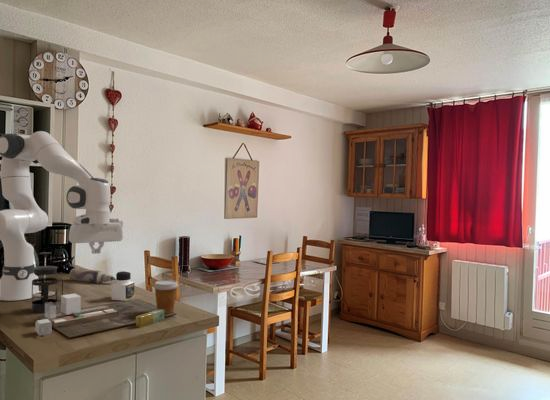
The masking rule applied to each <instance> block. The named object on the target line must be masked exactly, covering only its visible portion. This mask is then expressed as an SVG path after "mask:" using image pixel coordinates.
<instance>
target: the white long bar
mask: <svg viewBox="0 0 550 400" xmlns="http://www.w3.org/2000/svg"><path fill="white" fill-rule="evenodd" d="M99 306H100V305H99ZM93 307H94V306H93ZM87 308H88V307H87ZM81 309H82V308H81ZM104 309H107V307H105V306H100V307H94V308H88V309H82V310H81V311H80V313H76V314H81V313H87V312H92V311H98V310H104ZM56 313H57V310H56V305H55V304H53V303H52V302H47V303H45V313H44V315H45V317H46V318H48V319H49V320H53V319H56V318H58V317H64V316H70V315H72V314H68V315H66V314H64V313H59V312H58V313H59V314H56Z"/></svg>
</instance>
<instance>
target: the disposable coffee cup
mask: <svg viewBox="0 0 550 400" xmlns="http://www.w3.org/2000/svg"><path fill="white" fill-rule="evenodd" d="M153 287H154V291H155V292H154V293H155V302H156V310H158V309H164V310H165V315H166V314H167V313H168V314H172V313H173V312H174V309H175V303H176V296H177V291H178V290H177V288H178V287H179V284H178V281H177V280H173V279H162V280H157V281H155V282H154V284H153ZM168 314H167V315H168Z"/></svg>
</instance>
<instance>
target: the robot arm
mask: <svg viewBox="0 0 550 400" xmlns="http://www.w3.org/2000/svg"><path fill="white" fill-rule="evenodd" d="M0 156H1V157H2V158H1V162H0V182H1V192H2V193H1V194H2V197H3V198H4V199H5V200H7V201H8V202H10V203H11V205H12V206H13V208H12V209H11V208H10V209H9V208H8V209H7V208H6V209H2V210H1V209H0V242H1V244H2V246H3V251H4V252H3V255H4V261H3V263H4V265H3V266H2V276H1V277H0V301H5V302H6V301H7V302H10V301H23V300H28V299H29V300H30V299H32V280H34V279H39V275H37V274H36V273H35V271H34V270H32V268H34V267H35V265H36V264H35V263H34V261H35V257H34V256H35V255H34V254H35V248H34V246H33V245H32V243H29V242H28V241H27V240H26V238H25V234H31V233H37V232H39V231H42V230H45V229H46V228H47V226H48V224H49V216H48V214H47V212H46V211H44V210H42V208H40V206H39V205H38V204H37V202H36V199H35V197H34V194H33V190H32V189H33V188H32V183H31V182H32V181H31V172H30V165H31V164H32V163H34V164H39V165H40V166H41V167H42V168H43V170H44V169H45V170H46V171H47V172H49V173H51V174H56V175H59V176H64V177H68V178H69V179H72V180H73V181H75V182H76V183H77V184H78V185H75V186H74V185H73V186H71V187H70V188H69V189H68V190H67V193H66V198H65V199H66V203H67V204H68V206H69V207H70V208H71V209H74V210H85V214H81V215H77V216H74V217H73V218H72V224H71V225H70V227H69V232H68V241H69V242H70V243H71V244H88V246H89V247H90V249H91V254H93V255H95V254H101V253H102V251H101V250H102V248H103V247H104V245H105V243H107V242H109V243H110V242H122V240H123V238H124V235H123V227H124V222H123V220H121V219H120V218H110V215H111V213H110V202H111V199H112V198H111V197H112V196H111V187H110V186H111V184H110V182H109V181H108V180H107V179H104V178H100V177H99V178H98V177H94V176H93V175H92V174H91V173H90V172H88V170H87V169H86V168H85V167H84V166H83V165H82V164H81V163H79V162H78V161H77V160H76V159H74V158H73V157H72V156H71V155H70V154H69V153H68V152H67V150H65V149H64V148H63V147H62V145H61V144H60V143H59V142H58V141H57V139H56V138H54V137H53V135H51V134H50V133H49V132H47V131H43V130H39V131H35V132H33V133H31V134H19V133H18V134H17V133H16V134H15V133H5V134H1V136H0ZM95 243H98V247H97V248H95ZM38 292H41V290H39V286H36V285H33V294H34V293H38Z"/></svg>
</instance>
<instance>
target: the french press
mask: <svg viewBox="0 0 550 400" xmlns="http://www.w3.org/2000/svg"><path fill="white" fill-rule="evenodd" d="M51 254H52V252H48V251H47V252H46V251H43V252H40V253H39V255H43V258H44V265H40V266H36V267H34V268H32V270H34V271H35V272H34V274H35V275H37V276H44V277H41V278H40V277H38V279H34V280H32V298H31V305H30V306H31V307H30V308H31V309H30V312H31V313H33V314H45V303H47V302H52V303H53V304H55V305H56V311H57V310H58V302H61V299H58V283H59V282H58V281H61V283H60V284H61V290H60V291H61V293H60V296H61V295H64V293H63V292H64V289H63V288H64V279H63V278H57V277H47V276H49V275H55V274H57V271H58V269H59V267H58V266H56V265H47V257H48V255H51ZM33 285H36V286H38V287H39V286H40V287H41V289H40V291H41V292H38V293H34V294H33ZM51 285H52V286H53V285H56V286H55V287H56V288H55V289H56V290H55V291H51V290H50V291H49V286H51ZM54 296H55V298H52V297H54ZM33 298H37V299H36V300H33Z"/></svg>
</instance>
